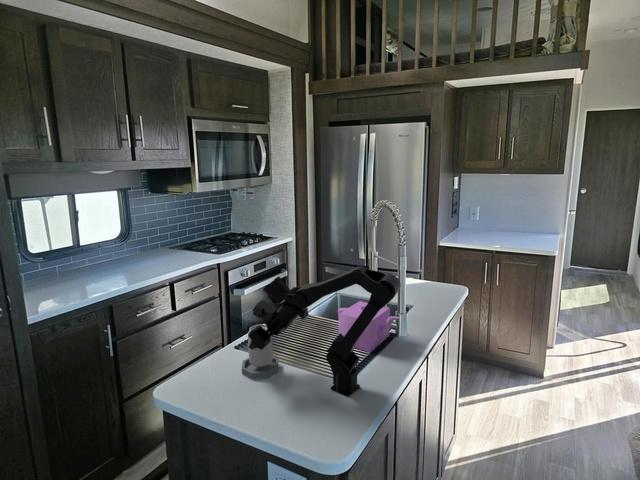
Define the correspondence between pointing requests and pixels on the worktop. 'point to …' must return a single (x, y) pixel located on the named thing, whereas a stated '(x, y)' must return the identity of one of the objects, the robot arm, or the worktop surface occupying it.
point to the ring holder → (260, 369)
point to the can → (260, 352)
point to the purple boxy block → (373, 332)
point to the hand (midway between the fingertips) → (256, 342)
